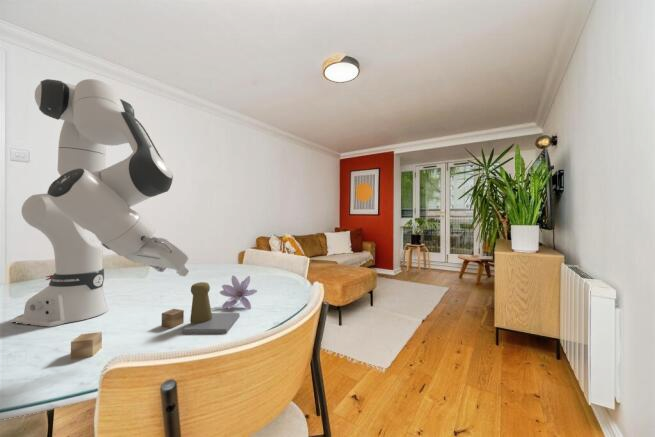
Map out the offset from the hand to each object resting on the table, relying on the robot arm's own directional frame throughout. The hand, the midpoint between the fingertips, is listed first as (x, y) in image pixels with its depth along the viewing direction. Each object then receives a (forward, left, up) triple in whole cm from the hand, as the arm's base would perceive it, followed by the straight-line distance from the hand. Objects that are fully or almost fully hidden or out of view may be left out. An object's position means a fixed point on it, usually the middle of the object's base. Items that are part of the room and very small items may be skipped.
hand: (173, 271), depth 67 cm
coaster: (+6, +11, -18) cm, 22 cm away
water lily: (+8, +26, -18) cm, 33 cm away
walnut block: (-6, +11, -18) cm, 22 cm away
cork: (+2, +12, -17) cm, 21 cm away
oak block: (-17, -5, -18) cm, 25 cm away
